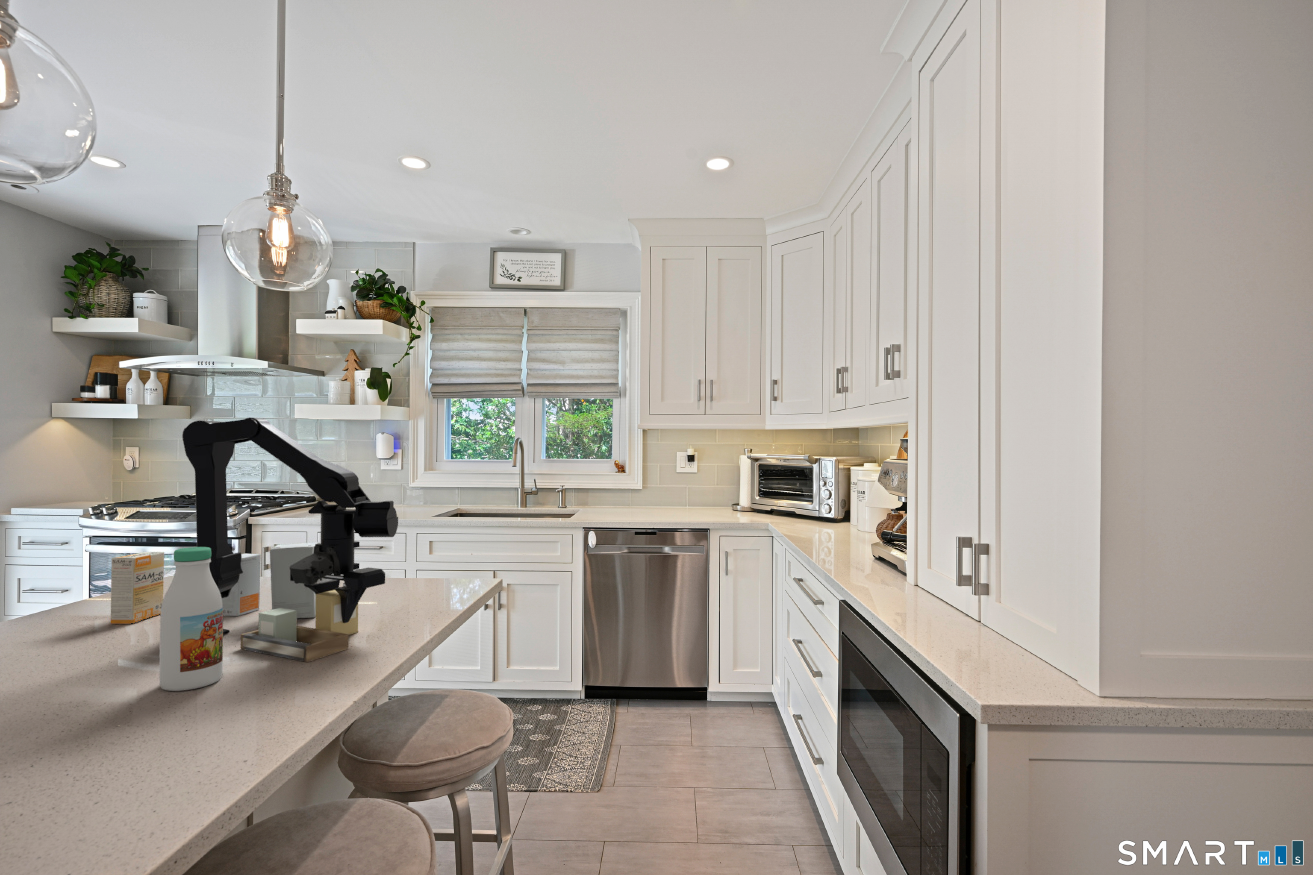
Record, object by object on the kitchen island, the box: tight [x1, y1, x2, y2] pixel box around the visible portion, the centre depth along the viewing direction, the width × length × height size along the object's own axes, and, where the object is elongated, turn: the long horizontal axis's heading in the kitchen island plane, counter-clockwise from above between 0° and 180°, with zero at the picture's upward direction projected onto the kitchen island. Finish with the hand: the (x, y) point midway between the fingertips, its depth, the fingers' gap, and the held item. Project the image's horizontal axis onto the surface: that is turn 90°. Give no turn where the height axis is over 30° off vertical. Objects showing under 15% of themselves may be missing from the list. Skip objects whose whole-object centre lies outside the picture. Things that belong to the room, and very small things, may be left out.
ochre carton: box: [315, 590, 359, 636], centre depth 125 cm, size 4×6×8 cm
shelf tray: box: [240, 625, 350, 663], centre depth 116 cm, size 17×8×2 cm, turn 65°
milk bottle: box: [159, 546, 224, 692], centre depth 100 cm, size 8×8×20 cm
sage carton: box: [258, 608, 298, 641], centre depth 118 cm, size 4×4×6 cm
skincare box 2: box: [269, 541, 320, 619], centre depth 138 cm, size 8×6×15 cm
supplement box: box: [110, 551, 165, 625], centre depth 136 cm, size 8×5×13 cm, turn 179°
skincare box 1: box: [222, 553, 262, 617], centre depth 141 cm, size 6×4×12 cm
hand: (337, 621), depth 125 cm, fingers closed on ochre carton, 4 cm apart
